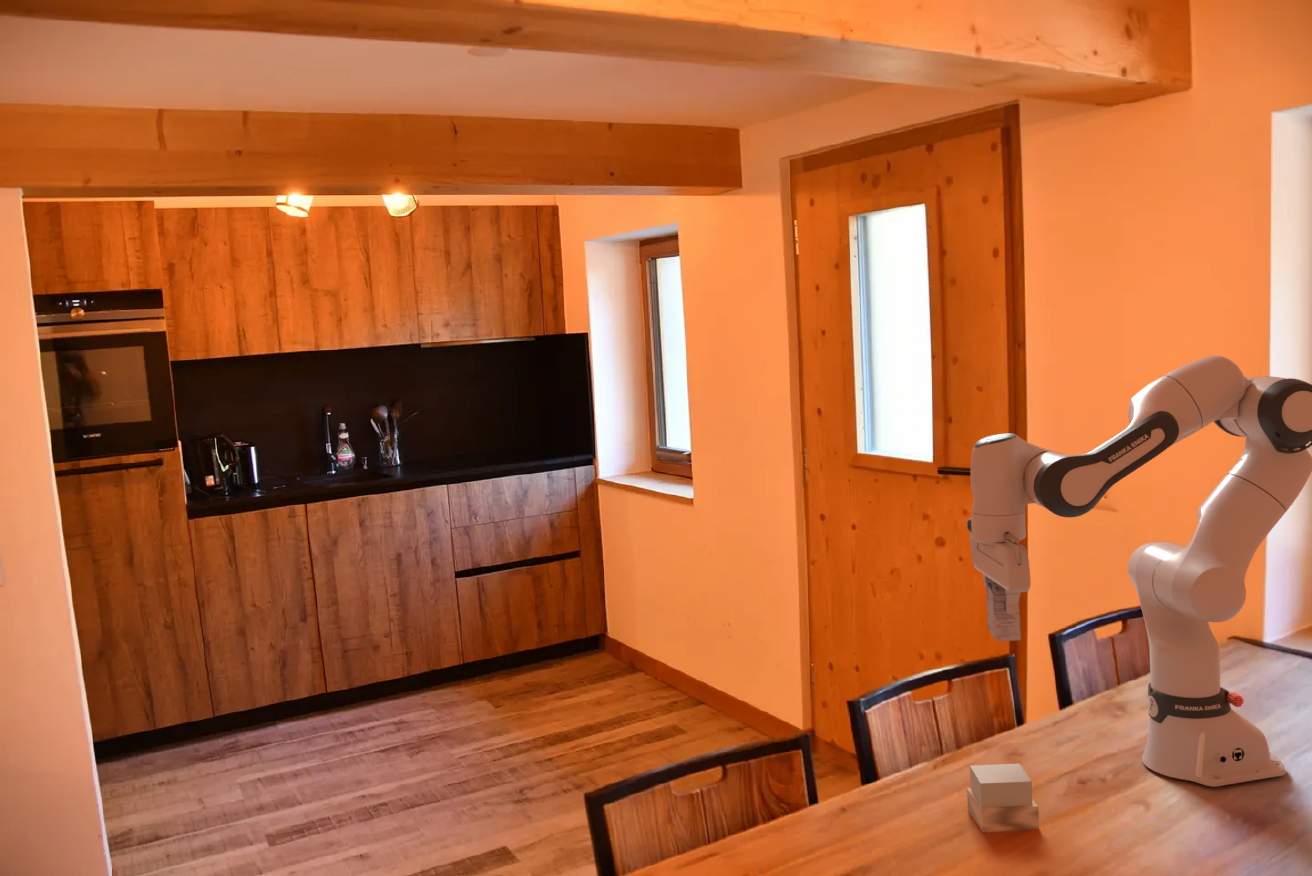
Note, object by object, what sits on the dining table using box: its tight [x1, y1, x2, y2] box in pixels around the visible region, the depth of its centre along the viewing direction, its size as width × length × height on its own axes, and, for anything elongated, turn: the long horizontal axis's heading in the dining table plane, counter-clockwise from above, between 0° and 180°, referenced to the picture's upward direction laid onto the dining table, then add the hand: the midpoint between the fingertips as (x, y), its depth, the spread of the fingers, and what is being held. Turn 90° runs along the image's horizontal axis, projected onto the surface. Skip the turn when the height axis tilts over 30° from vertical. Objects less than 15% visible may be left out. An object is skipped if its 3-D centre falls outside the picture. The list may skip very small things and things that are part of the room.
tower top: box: [969, 763, 1033, 808], centre depth 171 cm, size 8×7×4 cm
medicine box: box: [985, 582, 1022, 642], centre depth 184 cm, size 8×4×9 cm, turn 171°
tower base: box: [966, 787, 1040, 833], centre depth 171 cm, size 9×8×4 cm
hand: (1001, 605), depth 184 cm, fingers closed on medicine box, 8 cm apart
